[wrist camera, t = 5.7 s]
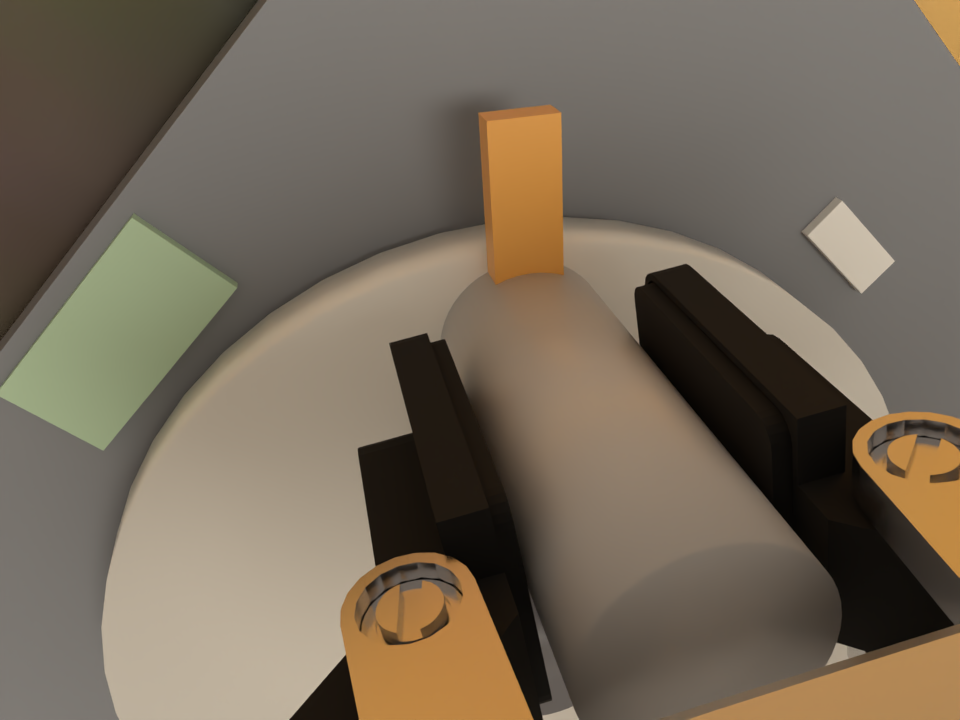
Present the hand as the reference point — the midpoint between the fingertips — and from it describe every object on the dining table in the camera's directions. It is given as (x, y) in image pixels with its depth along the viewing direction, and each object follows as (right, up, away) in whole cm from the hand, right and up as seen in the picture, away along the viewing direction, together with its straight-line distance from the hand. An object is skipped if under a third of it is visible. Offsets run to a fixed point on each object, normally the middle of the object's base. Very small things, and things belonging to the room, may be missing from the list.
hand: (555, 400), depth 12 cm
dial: (0, -3, +5) cm, 6 cm away
